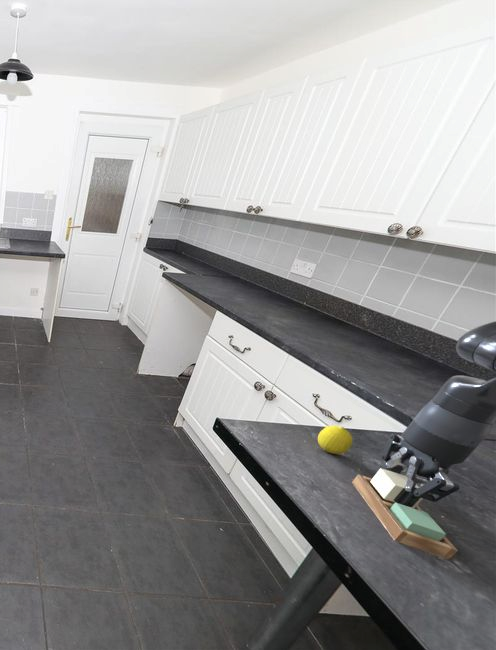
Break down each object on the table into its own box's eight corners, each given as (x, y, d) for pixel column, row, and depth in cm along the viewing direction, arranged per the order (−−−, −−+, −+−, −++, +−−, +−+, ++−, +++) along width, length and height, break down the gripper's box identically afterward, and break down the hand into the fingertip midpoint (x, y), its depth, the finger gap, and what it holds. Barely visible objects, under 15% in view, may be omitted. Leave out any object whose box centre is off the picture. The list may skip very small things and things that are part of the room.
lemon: (346, 464, 79) (365, 439, 76) (318, 456, 81) (335, 431, 78) (333, 448, 84) (350, 423, 81) (307, 440, 86) (322, 416, 82)
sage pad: (414, 526, 65) (427, 512, 63) (432, 548, 61) (446, 534, 59) (383, 515, 66) (395, 502, 64) (399, 536, 62) (412, 522, 61)
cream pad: (398, 490, 69) (409, 476, 68) (414, 508, 65) (426, 494, 64) (369, 481, 71) (380, 467, 69) (383, 499, 67) (395, 485, 65)
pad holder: (394, 498, 71) (402, 487, 70) (447, 561, 59) (458, 550, 58) (350, 483, 74) (357, 473, 72) (392, 542, 62) (402, 531, 60)
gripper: (512, 466, 54) (445, 533, 61) (442, 413, 66) (392, 475, 73) (449, 448, 56) (391, 515, 63) (393, 401, 69) (349, 461, 75)
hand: (392, 493), depth 68 cm, fingers closed on cream pad, 4 cm apart
